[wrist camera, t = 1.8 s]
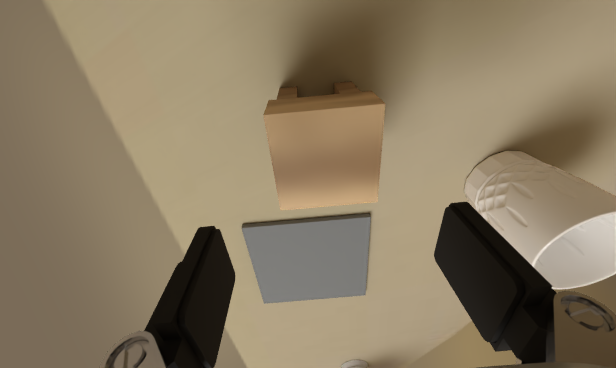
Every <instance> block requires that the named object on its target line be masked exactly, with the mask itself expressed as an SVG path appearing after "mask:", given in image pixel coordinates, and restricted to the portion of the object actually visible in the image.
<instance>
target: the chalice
mask: <svg viewBox="0 0 616 368" xmlns="http://www.w3.org/2000/svg"><path fill="white" fill-rule="evenodd" d="M367 366H368V364H367V362H365V361H363V360H351V361H348V362H345V363H344V364H343V365H342V366H341V368H367Z"/></svg>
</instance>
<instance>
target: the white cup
mask: <svg viewBox="0 0 616 368" xmlns="http://www.w3.org/2000/svg"><path fill="white" fill-rule="evenodd" d="M464 193H465V195H466V197H467V199H468V201H469V203H470V204H471V205H472V206H473V207H474V208H475V210H476V211H477V212H478V213H479V214H480V215H481V216H482V217H483V218H484V219H485V220H486V221H487V222H488V223H489V224H490V225H491V226H492V227H493V228H494V229H495V230H496V231H497V232H498V233H499V234H500V235H501V236H502V237H504V238H505V239H506V240H507V241H508V242H509V243H510V244H511V245H512V246H513V247H514V248H515V249H516V250H517V251H518V252H519V253H520V254H521V255H522V256H523V257H524V258H525V259H526V260H527V261H528V262H529V263H530V264H531V265H532V266H533V267H534V268H535V269H536V270H537V271H538V272H539V273H540V274H541V275H542V276H543V277H544V278H545V279H546V280H547V281H548V282H549V283H550V284H551V285H552V289H569V288H577V287H581V286H585V285H589V284H592V283H595V282H598V281H601V280H603V279H606V278H608V277H610V276H612V275H614V274H616V196H615V195H613V194H611V193H609V192H607V191H605V190H603V189H601V188H599V187H597V186H595V185H593V184H591V183H589V182H587V181H585V180H583V179H581V178H579V177H576V176H574V175H572V174H570V173H568V172H566V171H564V170H561V169H559V168H557V167H555V166H553V165H549V164H546V163H544V162H542V161H540V160H538V159H536V158H534V157H532V156H530V155H528V154H526V153H524V152H522V151H504V152H501V153H498V154H495V155H492V156H489V157H488V158H487V159H485V160H484V161H482V162H481V163H480V164H478V165H477V166H476V167H475V168H474V169H473V171H472V172H471V173H470V175H469V176H468V178H467V179H466V183H465V189H464Z"/></svg>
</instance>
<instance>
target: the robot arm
mask: <svg viewBox="0 0 616 368" xmlns="http://www.w3.org/2000/svg"><path fill="white" fill-rule="evenodd" d="M434 257H435V261H436V263H437V264H438V266H439V267H440V269H441V271H442V272H443V274H444V276H445V277H446V279H447V280H448V282H449V284H450V285H451V287H452V289H453V290H454V292H455V293H456V295H457V297H458V298H459V300H460V302H461V303H462V305H463V306H464V308H465V310H466V311H467V313H468V315H469V316H470V318H471V319H472V321H473V323H474V324H475V326H476V327H477V329H478V331H479V332H480V334H481V336H482V337H483V338H484V340H485V341H487V342H490V344H491V345H492V347H493V348H494V350H495V351H507V350H512V352H513V353H514V355H515V356H516V357H517V359H516V365H503V366H490V367H479V368H616V315H615V313H614V312H613V311H612V310H610V309H609V308H608V307H607V306H605V305H604V304H603V303H601V302H599V301H597V300H596V299H594V298H592V297H590V296H587V295H585V294H582V293H578V292H575V291H561V292H558V293H556V292H555V291H554V290H553V289H552V285H551V284H550V283H549V282H548V281H547V280H546V279H545V278H544V277H543V276H542V275H541V274H540V273H539V272H538V271H537V270H536V269H535V268H534V267H533V266H532V265H531V264H530V263H529V262H528V261H527V260H526V259H525V258H524V257H523V256H522V255H521V254H520V253H519V252H518V251H517V250H516V249H515V248H514V247H513V246H512V245H511V244H510V243H509V242H508V241H507V240H506V239H505V238H504V237H502V236H501V235H500V234H499V233H498V232H497V231H496V230H495V229H494V228H493V227H492V226H491V225H490V224H489V223H488V222H487V221H486V220H485V219H484V218H483V217H482V216H481V215H480V214H479V213H478V212H477V211H476V210H475V209H474V208H473V207H472V206H471V205H470V204H469V203H468V202H458V203H451V204H450V205H449V207H446V209H445V212H444V216H443V220H442V224H441V228H440V232H439V236H438V240H437V244H436V248H435V252H434ZM234 283H235V272H234V269H233V266H232V263H231V260H230V257H229V254H228V251H227V248H226V246H225V243H224V240H223V237H222V234H221V231H220V230H219V229H216V228H215V227H214V226H208V227H200V228H198V230H197V232H196V234H195V236H194V238H193V240H192V242H191V244H190V246H189V248H188V250H187V253H186V255H185V257H184V259H183V261H182V262H180V263H179V264H178V265H177V267H176V268H175V270H174V272H173V274H172V276H171V279H170V280H169V282H168V284H167V286H166V288H165V290H164V292H163V294H162V296H161V298H160V300H159V302H158V305H157V306H156V308H155V310H154V312H153V315H152V316H151V318H150V320H149V323H148V325H147V326H146V328H145V330H144V331H138V332H134V333H131V334H129V335H127V336H125V337H124V338H122V339H121V340H119V341H118V342H117V343H116V344H114V345H113V347H112V348H111V349H110V350H109V351H108V352H107V353H106V355H105V356H104V358H103V360H102V362H101V364H100V367H99V368H213V367H214V366H215V363H216V359H217V355H218V351H219V347H220V342H221V338H222V334H223V330H224V325H225V321H226V317H227V313H228V308H229V304H230V300H231V295H232V291H233V287H234Z"/></svg>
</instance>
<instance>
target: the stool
mask: <svg viewBox="0 0 616 368" xmlns="http://www.w3.org/2000/svg"><path fill="white" fill-rule="evenodd" d="M384 115H385V103H384V102H383V101H382V100H381V99H380V98H379V97H378V96H377V95H375V94H374V93H373V92H372V91H364V92H361V91H360V90H359V89H358V88H357V87H356V86H355V85H354V84H353V82H352V81H350V82H340V83H334V94H332V95H321V96H310V97H300V98H298V92H297V87H287V88H280V89H279V93H278V96H277V100H269V101H268V104H267V107H266V110H265V112H264V120H265V126H266V132H267V137H268V143H269V148H270V154H271V160H272V165H273V171H274V176H275V182H276V187H277V193H278V199H279V204H280V210H291V209H302V208H314V207H325V206H337V205H348V204H360V203H371V202H377V201H378V189H379V176H380V164H381V152H382V140H383V128H384Z"/></svg>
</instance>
